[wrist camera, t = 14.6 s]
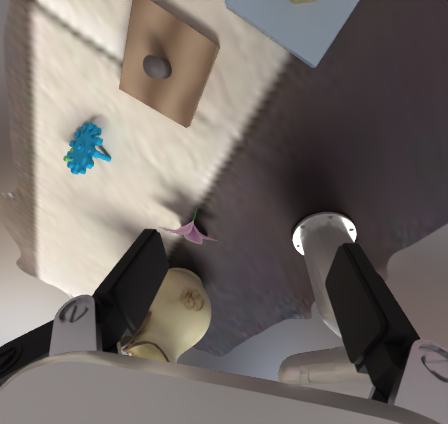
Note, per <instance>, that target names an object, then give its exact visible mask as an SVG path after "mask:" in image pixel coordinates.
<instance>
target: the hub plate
mask: <svg viewBox="0 0 448 424" xmlns="http://www.w3.org/2000/svg"><path fill="white" fill-rule="evenodd" d="M293 2H294V1H293ZM293 2H292V3H291V2H290V0H225V4H226V7H227V8H228V9H229V10H231V11H232V12H234V13H235V14H236V15H238V16H239V17H241V18H242V19H244V20H245V21H246V22H248V23H249V24H251V25H252V26H253V27H255V28H256V29H258V30H259V31H261V32H262V33H263V34H265V35H266V36H268V37H269V38H270V39H272V40H273V41H275V42H276V43H278V44H279V45H280V46H282V47H283V48H285V49H286V50H287V51H289V52H290V53H292V54H293V55H294V56H296V57H297V58H299V59H300V60H302V61H303V62H304V63H306V64H307V65H309V66H310V67H311V68H315V67H316V66H317V65H318V63H319V62H320V60H321V59H322V57H323V55H324V54H325V52H326V51H327V49H328V48H329V46H330V45H331V43H332V42H333V40H334V39H335V37H336V35H337V34H338V32H339V31H340V29H341V28H342V26H343V25H344V23H345V22H346V20H347V19H348V17H349V15H350V14H351V12H352V11H353V9H354V8H355V6H356V5H357V3H358V2H359V0H318V1H317V0H316V2H310V3H299V4H293Z"/></svg>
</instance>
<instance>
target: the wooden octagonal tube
mask: <svg viewBox="0 0 448 424" xmlns="http://www.w3.org/2000/svg"><path fill="white" fill-rule="evenodd" d="M293 1H294V2H293ZM317 1H318V0H317ZM290 2H291V3H292V2H293V4H299V3H310V2H316V0H290Z"/></svg>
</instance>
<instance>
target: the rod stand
mask: <svg viewBox="0 0 448 424" xmlns="http://www.w3.org/2000/svg"><path fill="white" fill-rule="evenodd" d="M219 49H220V47H219V46H218V45H217V44H215V43H214V42H212V41H211V40H209V39H208V38H206V37H205V36H203V35H202V34H200V33H199V32H197V31H196V30H194V29H193V28H191V27H190V26H188V25H187V24H185V23H184V22H182V21H181V20H179V19H178V18H176V17H175V16H173V15H172V14H170V13H169V12H167V11H166V10H164V9H163V8H161V7H160V6H158V5H157V4H155V3H154V2H152V1H151V0H133V1H132V8H131V14H130V21H129V27H128V34H127V40H126V47H125V53H124V60H123V66H122V72H121V79H120V85H119V89H120V90H122V91H124V92H125V93H127V94H129V95H131V96H132V97H134V98H136V99H137V100H139V101H141V102H143V103H144V104H146V105H148V106H149V107H151V108H153V109H155V110H156V111H158V112H160V113H161V114H163V115H165V116H167V117H168V118H170V119H172V120H173V121H175V122H177V123H179V124H180V125H182V126H184V127H185V128H187V127H189V126H190V124H191V121H192V119H193V116H194V114H195V111H196V109H197V106H198V103H199V101H200V98H201V96H202V93H203V90H204V88H205V85H206V83H207V80H208V77H209V75H210V72H211V70H212V67H213V64H214V62H215V59H216V57H217V54H218V51H219Z"/></svg>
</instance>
